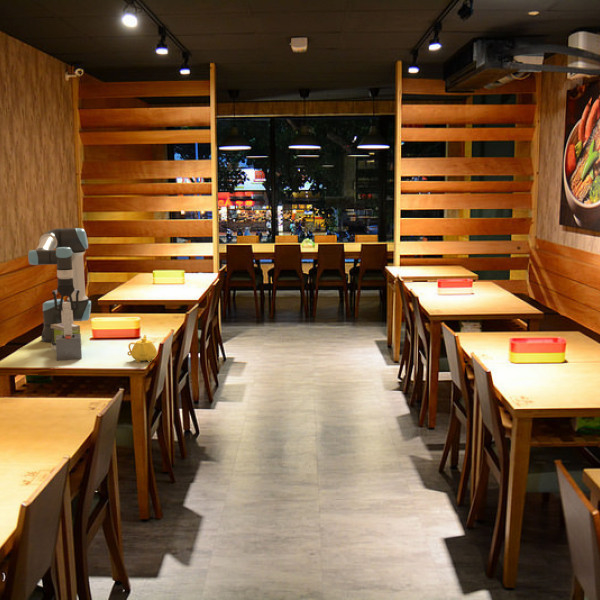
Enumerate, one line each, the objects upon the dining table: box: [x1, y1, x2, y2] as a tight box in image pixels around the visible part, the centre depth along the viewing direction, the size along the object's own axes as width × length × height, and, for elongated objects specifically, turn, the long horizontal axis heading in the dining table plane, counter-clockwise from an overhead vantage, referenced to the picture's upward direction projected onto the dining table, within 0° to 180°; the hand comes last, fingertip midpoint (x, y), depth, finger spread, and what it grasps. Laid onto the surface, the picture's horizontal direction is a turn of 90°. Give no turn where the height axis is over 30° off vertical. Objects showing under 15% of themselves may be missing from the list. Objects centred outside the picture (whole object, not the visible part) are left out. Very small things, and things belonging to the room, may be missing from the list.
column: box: [62, 301, 73, 338], centre depth 357 cm, size 6×4×24 cm
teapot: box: [126, 334, 158, 363], centre depth 357 cm, size 20×15×12 cm
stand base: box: [55, 333, 83, 362], centre depth 359 cm, size 16×16×13 cm
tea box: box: [50, 323, 81, 351], centre depth 377 cm, size 15×10×15 cm, turn 45°
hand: (67, 323), depth 357 cm, fingers closed on column, 4 cm apart
